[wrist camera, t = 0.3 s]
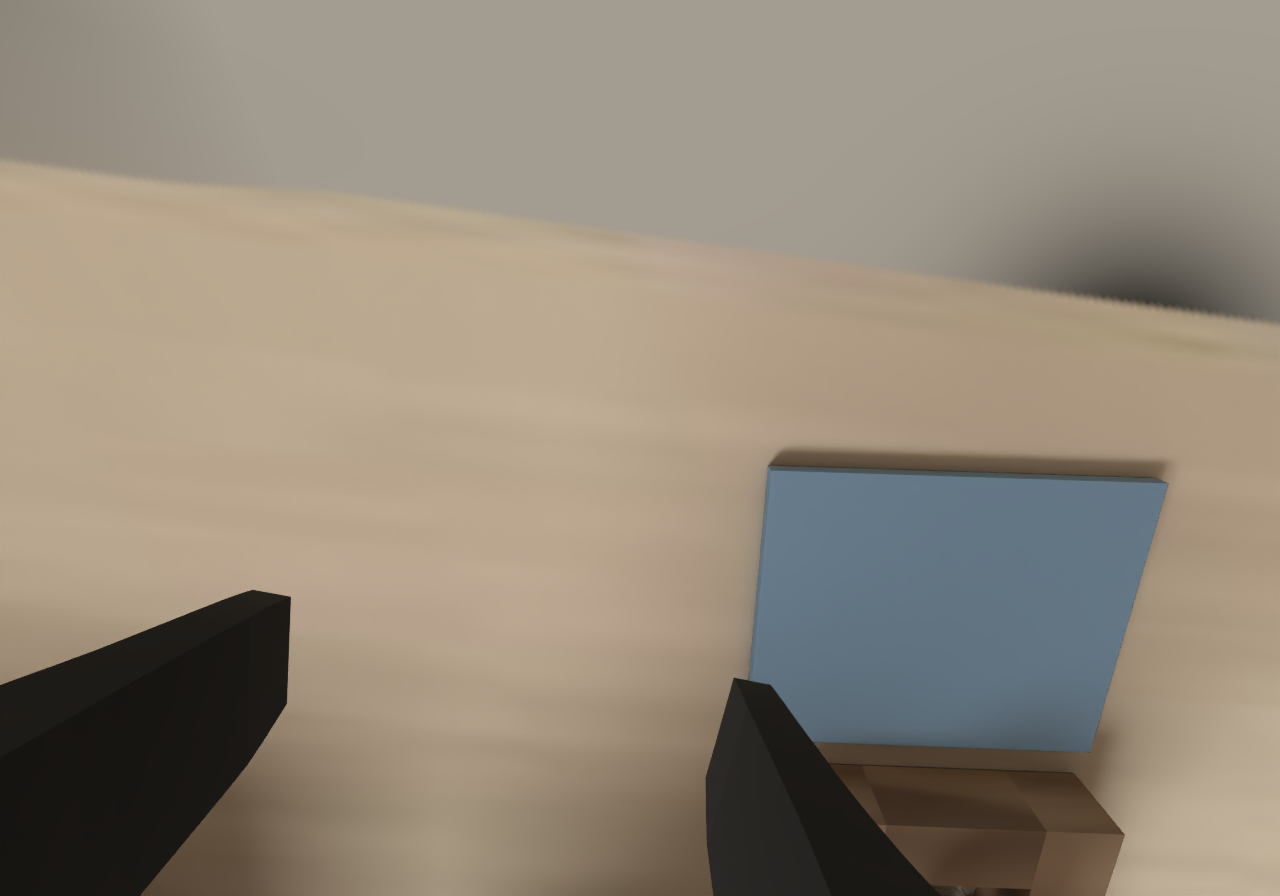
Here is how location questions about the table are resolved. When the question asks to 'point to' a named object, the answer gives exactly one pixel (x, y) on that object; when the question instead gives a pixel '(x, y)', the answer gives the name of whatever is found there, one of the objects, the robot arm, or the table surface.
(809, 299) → the table surface
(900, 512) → the mat
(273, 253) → the table surface
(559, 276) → the table surface
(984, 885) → the eye block
